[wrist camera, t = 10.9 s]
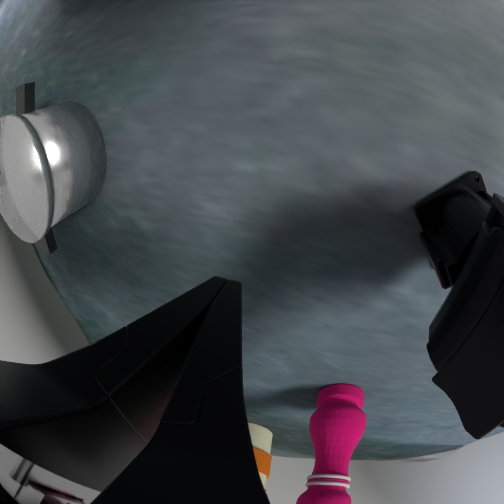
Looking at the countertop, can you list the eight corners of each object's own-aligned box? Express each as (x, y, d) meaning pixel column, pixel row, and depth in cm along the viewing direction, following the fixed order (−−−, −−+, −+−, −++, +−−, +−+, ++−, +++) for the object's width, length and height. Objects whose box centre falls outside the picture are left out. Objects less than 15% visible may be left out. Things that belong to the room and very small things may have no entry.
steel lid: (46, 102, 13) (31, 106, 12) (68, 248, 20) (57, 257, 19) (-22, 128, 16) (-31, 132, 14) (-5, 221, 22) (-13, 227, 21)
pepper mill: (309, 402, 34) (277, 530, 17) (321, 377, 30) (287, 533, 14) (356, 408, 32) (336, 535, 16) (375, 384, 29) (360, 536, 12)
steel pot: (105, 67, 17) (44, 72, 12) (115, 235, 27) (72, 270, 21) (40, 88, 19) (-7, 99, 14) (54, 218, 29) (17, 244, 23)
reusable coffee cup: (261, 416, 40) (236, 493, 28) (292, 441, 44) (274, 505, 32) (207, 415, 46) (179, 478, 34) (241, 440, 50) (221, 495, 38)
